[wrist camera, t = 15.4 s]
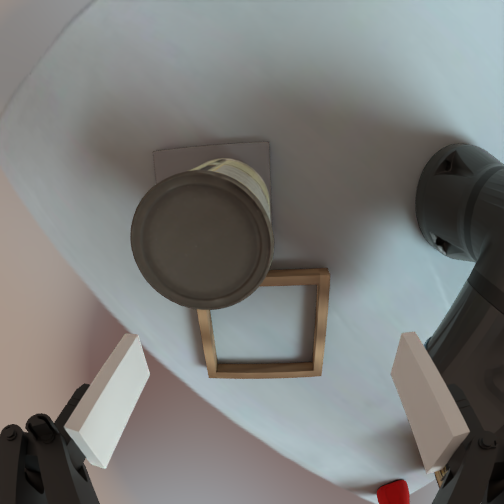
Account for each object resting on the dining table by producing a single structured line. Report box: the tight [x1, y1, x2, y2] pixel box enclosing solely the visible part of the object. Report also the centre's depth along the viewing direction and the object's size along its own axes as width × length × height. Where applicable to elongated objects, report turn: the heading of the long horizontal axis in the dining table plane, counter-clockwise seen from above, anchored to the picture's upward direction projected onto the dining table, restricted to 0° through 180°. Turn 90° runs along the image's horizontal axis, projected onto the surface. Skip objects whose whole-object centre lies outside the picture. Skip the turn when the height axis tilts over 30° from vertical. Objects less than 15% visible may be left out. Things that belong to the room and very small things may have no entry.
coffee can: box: [131, 158, 274, 310], centre depth 27 cm, size 10×10×14 cm
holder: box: [197, 268, 330, 379], centre depth 40 cm, size 16×16×2 cm
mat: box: [153, 142, 272, 226], centre depth 35 cm, size 13×13×1 cm
